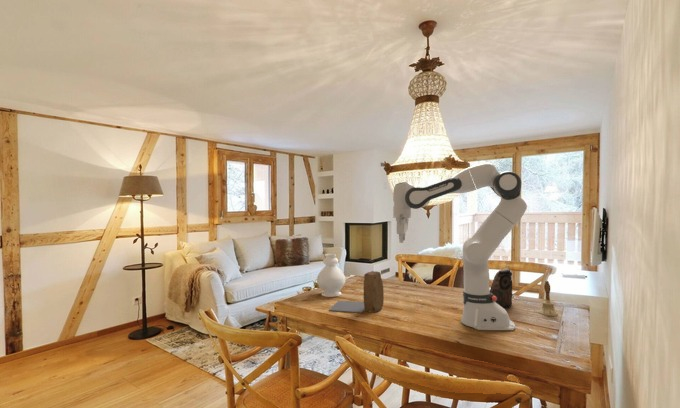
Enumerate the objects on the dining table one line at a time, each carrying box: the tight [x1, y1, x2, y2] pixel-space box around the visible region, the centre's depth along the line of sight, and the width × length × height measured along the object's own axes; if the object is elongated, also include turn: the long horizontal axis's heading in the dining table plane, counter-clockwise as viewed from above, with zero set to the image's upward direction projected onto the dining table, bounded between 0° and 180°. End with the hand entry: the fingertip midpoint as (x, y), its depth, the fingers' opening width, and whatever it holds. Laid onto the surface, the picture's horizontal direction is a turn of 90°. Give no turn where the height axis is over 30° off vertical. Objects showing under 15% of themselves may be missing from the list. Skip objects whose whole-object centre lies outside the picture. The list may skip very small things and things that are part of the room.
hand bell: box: [538, 280, 559, 317], centre depth 169 cm, size 8×8×16 cm
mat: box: [328, 300, 366, 314], centre depth 187 cm, size 18×18×1 cm
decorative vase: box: [316, 253, 346, 298], centre depth 215 cm, size 18×18×25 cm
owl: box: [490, 266, 513, 310], centre depth 183 cm, size 13×13×20 cm
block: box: [363, 270, 385, 313], centre depth 181 cm, size 11×8×20 cm
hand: (402, 241), depth 173 cm, fingers open, 8 cm apart
